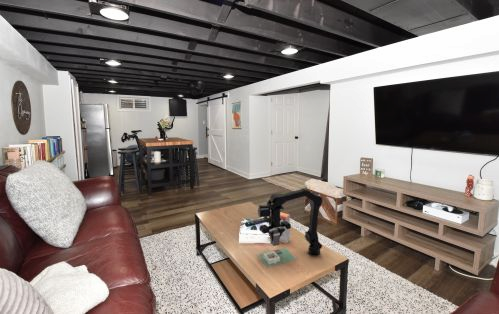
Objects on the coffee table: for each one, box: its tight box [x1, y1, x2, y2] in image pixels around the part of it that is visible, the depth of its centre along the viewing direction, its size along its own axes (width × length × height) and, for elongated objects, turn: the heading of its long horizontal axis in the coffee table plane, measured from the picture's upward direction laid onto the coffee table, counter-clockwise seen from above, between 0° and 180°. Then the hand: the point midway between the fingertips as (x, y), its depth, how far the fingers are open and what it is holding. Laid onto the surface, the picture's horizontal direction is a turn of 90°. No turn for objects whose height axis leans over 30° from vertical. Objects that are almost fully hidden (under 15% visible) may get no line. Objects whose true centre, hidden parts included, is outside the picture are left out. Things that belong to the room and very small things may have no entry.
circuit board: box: [257, 247, 297, 268], centre depth 146 cm, size 20×14×4 cm
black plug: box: [269, 230, 281, 247], centre depth 143 cm, size 4×4×8 cm
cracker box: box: [268, 211, 291, 245], centre depth 166 cm, size 14×6×21 cm, turn 51°
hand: (274, 240), depth 143 cm, fingers closed on black plug, 4 cm apart
